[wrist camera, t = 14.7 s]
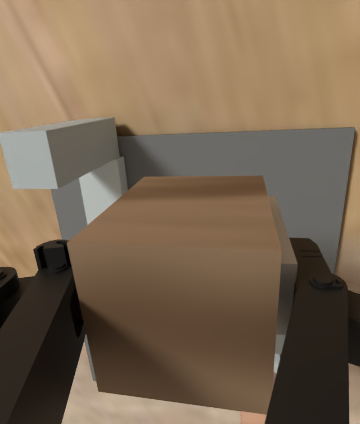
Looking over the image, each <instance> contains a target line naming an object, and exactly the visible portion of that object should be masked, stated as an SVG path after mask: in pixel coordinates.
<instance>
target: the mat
mask: <svg viewBox="0 0 360 424" xmlns="http://www.w3.org/2000/svg"><path fill="white" fill-rule="evenodd" d="M354 133H355V128H354V127H347V128H321V129H295V130H269V131H242V132H216V133H190V134H164V135H137V136H117V140H118V148H119V155H120V157H123V156H124V163H125V171H126V179H127V186H128V190H129V189H130V188H132V187H133V186H134V185H135V184H136V183H137V182H139V181H140V180H141V179H142V178H143V177H169V176H263V178H264V182H265V186H266V190H267V194H268V196H276V199H277V202H278V205H279V209H280V212H281V215H282V218H283V221H284V224H285V227H286V230H287V233H288V236H289V238H309V239H311V240H312V241H313V242H315V243H316V244H317V245H318V247H319V249H320V252H321V253H322V255H323V258H324V259H325V261H326V263H327V265H328V267H329V269H330V271H331V273H332V274H334V272H335V265H336V258H337V251H338V244H339V237H340V230H341V224H342V217H343V210H344V203H345V196H346V189H347V182H348V175H349V168H350V161H351V154H352V147H353V140H354ZM51 191H52V196H53V200H54V205H55V209H56V214H57V218H58V223H59V227H60V232H61V237H62V240H69V241H70V240H71V239H72V238H73V237H74V236H75V235H77V234H78V233H79V232H80V231H81V230H82V229H84V228H85V227H86V226H87V219H86V214H85V208H84V203H83V197H82V192H81V187H80V181H79V178H78V179H76V180H74V181H72V182H70V183H68V184H66V185H64V186H62V187H61V188H59V189H51ZM84 341H85V345H86V350H87V354H88V359H89V364H90V368H91V373H92V377H93V381H96V378H95V373H94V368H93V363H92V359H91V354H90V349H89V345H88V340H87V335H85V339H84ZM280 357H281V354H280Z"/></svg>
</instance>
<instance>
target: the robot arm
mask: <svg viewBox="0 0 360 424" xmlns="http://www.w3.org/2000/svg"><path fill="white" fill-rule="evenodd" d="M268 198H269V202H270V206H271V210H272V214H273V218H274V222H275V225H276V229H277V233H278V237H279V241H280V245H281V249H282V258H281V272H280V286H279V301H278V315H277V330H276V335H286V336H285V340H284V344H283V348H282V353H281V357H280V361H279V365H278V369H277V374H276V378H275V382H274V386H273V390H272V395H271V399H270V403H269V407H268V411H267V415H266V420H265V424H349V367H348V363H351V364H354V365H357V366H359V367H360V294H357V293H354V292H352V291H349V290H348V288H347V285H346V282H345V281H344V280H342V279H341V278H340V277H338V276H336V275H334V274H332V273H331V271H330V269H329V267H328V265H327V263H326V261H325V259H324V258H323V255H322V253H321V252H320V249H319V247H318V245H317V244H316V243H315V242H313V241H312V240H311V239H309V238H289V236H288V233H287V230H286V227H285V224H284V221H283V218H282V215H281V212H280V209H279V205H278V202H277V199H276V196H268ZM68 241H69V240H53V241H49V242H45V243H43V244H41V245H39V246H37V247H36V248H35V249H33V250H34V254H35V258H36V262H37V266H38V272H37V273H36V275H35V276H32V277H24V278H18V275H17V271H16V270H15V269H14V268H12V267H0V424H61V423H62V419H63V416H64V412H65V408H66V405H67V401H68V397H69V394H70V390H71V386H72V383H73V379H74V375H75V372H76V368H77V365H78V361H79V357H80V354H81V350H82V346H83V343H84V339H85V335H86V331H85V326H84V321H83V317H82V312H81V307H80V303H79V298H78V293H77V289H76V284H75V279H74V275H73V270H72V265H71V261H70V256H69V251H68V247H67V242H68Z"/></svg>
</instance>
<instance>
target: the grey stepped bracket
mask: <svg viewBox="0 0 360 424" xmlns="http://www.w3.org/2000/svg"><path fill="white" fill-rule="evenodd" d="M0 142H1V146H2V149H3V153H4V157H5V161H6V164H7V168H8V172H9V176H10V179H11V183H12V187H13V189H59V188H61V187H62V186H64V185H66V184H68V183H70V182H72V181H74V180H76V179H78V178H79V181H80V187H81V192H82V197H83V203H84V208H85V214H86V219H87V225H88V224H89V223H91V222H92V221H93V220H94V219H95V218H96V217H98V216H99V215H100V214H101V213H102V212H104V211H105V210H106V209H107V208H108V207H109V206H111V205H112V204H113V203H114V202H115V201H116V200H118V199H119V198H120V197H121V196H122V195H123V194H125V193H126V192H127V191H128V186H127V179H126V171H125V163H124V156H123V157H120V155H119V148H118V140H117V132H116V125H115V117H112V118H93V119H79V120H73V121H67V122H61V123H55V124H49V125H43V126H37V127H31V128H25V129H19V130H13V131H7V132H1V133H0Z"/></svg>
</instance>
